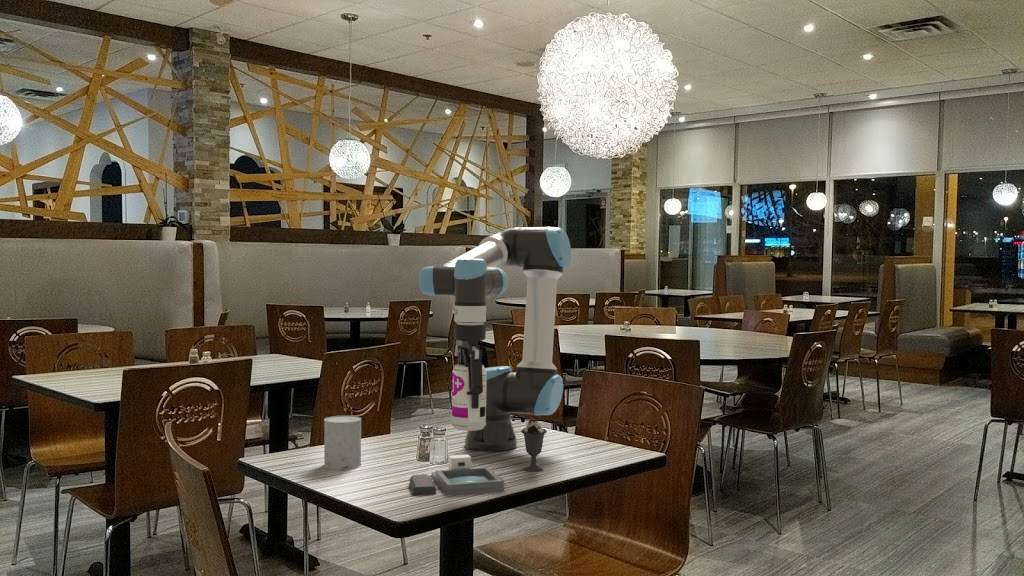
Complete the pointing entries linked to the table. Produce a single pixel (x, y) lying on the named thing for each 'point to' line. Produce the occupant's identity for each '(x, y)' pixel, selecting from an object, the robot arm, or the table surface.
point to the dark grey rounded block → (422, 485)
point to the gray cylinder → (342, 442)
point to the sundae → (533, 442)
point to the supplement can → (466, 400)
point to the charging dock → (467, 477)
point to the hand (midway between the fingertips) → (469, 418)
